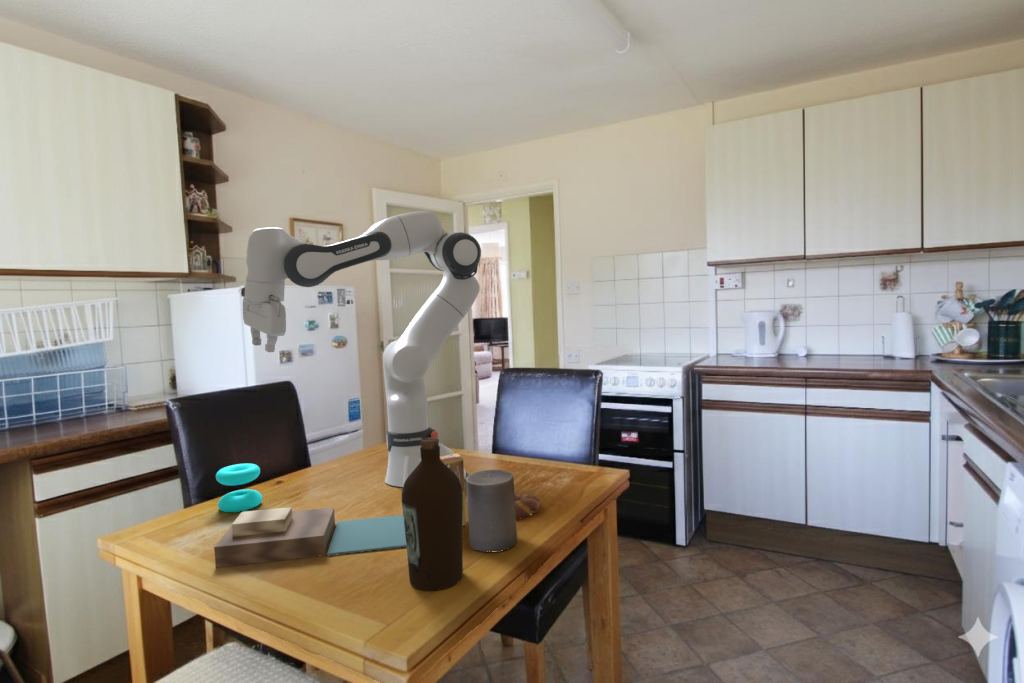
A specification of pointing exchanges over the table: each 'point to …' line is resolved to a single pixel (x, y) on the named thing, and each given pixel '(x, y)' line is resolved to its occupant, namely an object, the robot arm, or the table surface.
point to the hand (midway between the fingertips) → (263, 348)
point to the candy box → (457, 467)
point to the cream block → (262, 521)
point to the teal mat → (368, 535)
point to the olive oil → (433, 521)
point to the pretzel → (526, 505)
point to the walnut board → (279, 540)
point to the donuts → (239, 498)
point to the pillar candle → (491, 510)
